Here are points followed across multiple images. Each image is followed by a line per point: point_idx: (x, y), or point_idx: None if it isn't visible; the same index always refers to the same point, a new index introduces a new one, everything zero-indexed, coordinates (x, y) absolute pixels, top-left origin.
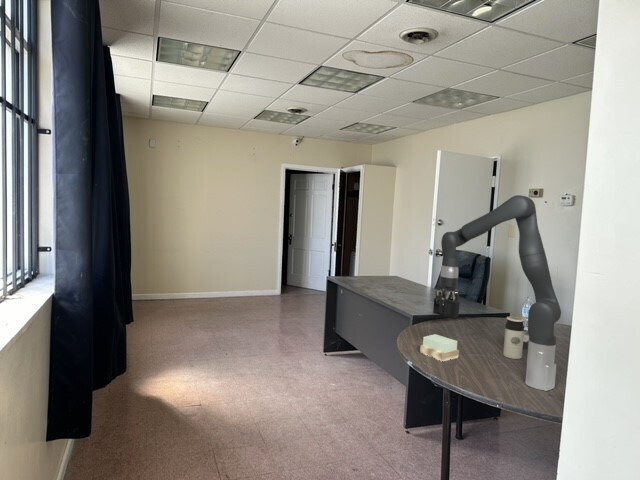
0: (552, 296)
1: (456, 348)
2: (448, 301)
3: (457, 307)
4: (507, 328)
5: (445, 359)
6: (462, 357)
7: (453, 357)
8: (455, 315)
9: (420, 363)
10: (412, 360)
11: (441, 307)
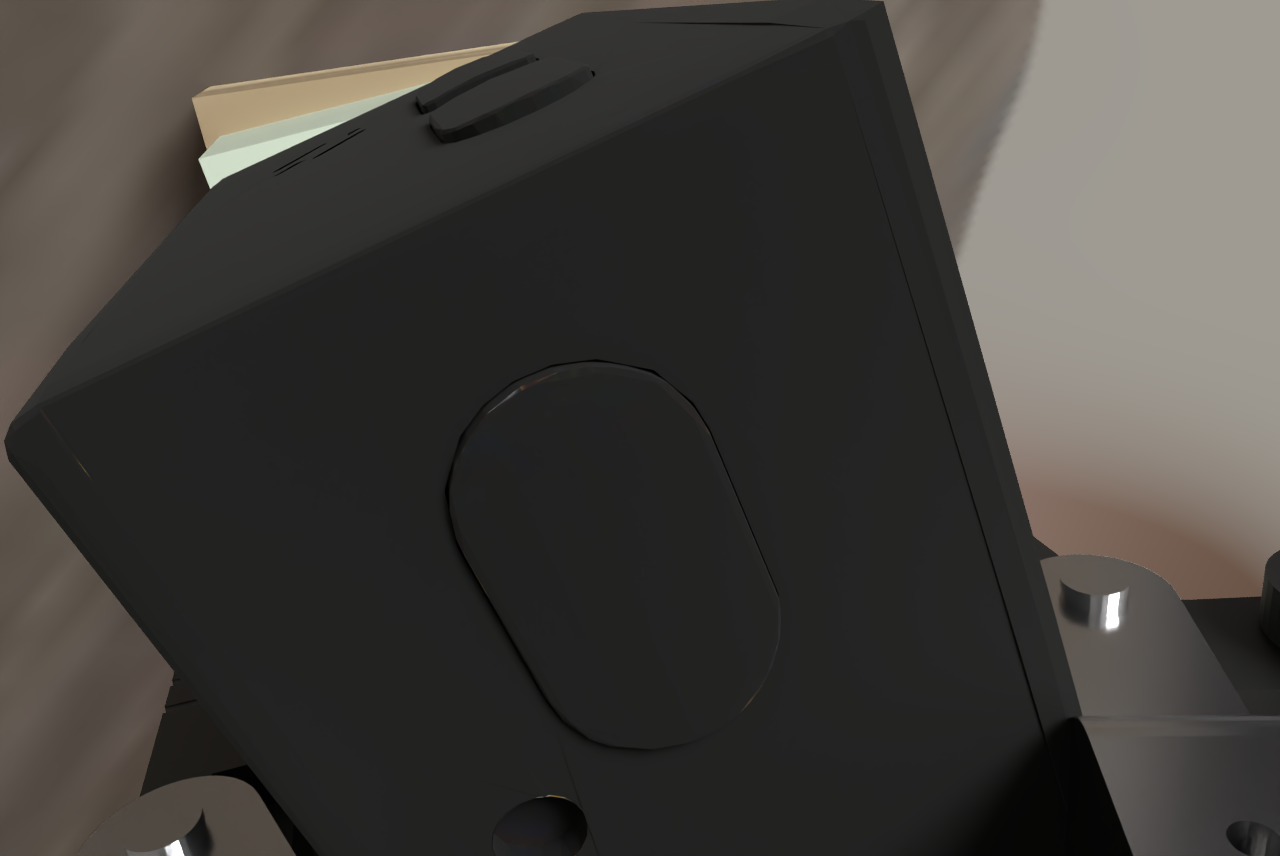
0: None
1: (228, 135)
2: (1039, 601)
3: (406, 150)
4: None
5: None
6: (117, 74)
7: (341, 68)
8: (523, 48)
9: (949, 72)
10: (962, 204)
11: (1047, 548)
